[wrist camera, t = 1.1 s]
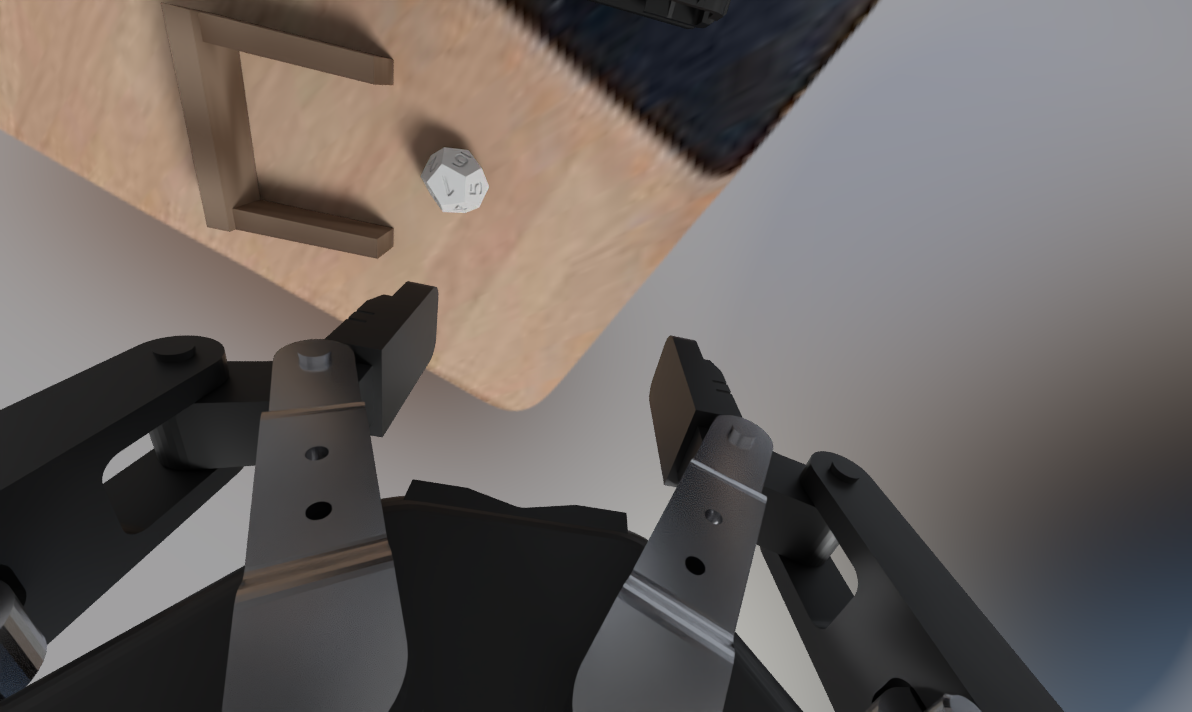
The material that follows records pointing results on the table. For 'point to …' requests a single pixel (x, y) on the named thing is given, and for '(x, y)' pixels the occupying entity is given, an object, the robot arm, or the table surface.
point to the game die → (455, 180)
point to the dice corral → (224, 130)
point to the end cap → (674, 10)
